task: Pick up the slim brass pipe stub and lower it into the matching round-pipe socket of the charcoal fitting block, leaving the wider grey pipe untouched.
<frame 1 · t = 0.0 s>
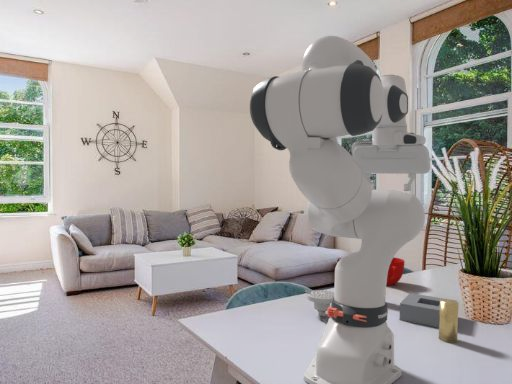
hand: (389, 190, 105), 39 cm above the table, tool pointing down, fingers open, 8 cm apart
brass pipe: (447, 339, 102), on the table
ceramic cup: (388, 285, 159), on the table
wide grey pipe: (370, 301, 135), on the table
showerhead: (320, 315, 119), on the table
fitting block: (428, 318, 118), on the table
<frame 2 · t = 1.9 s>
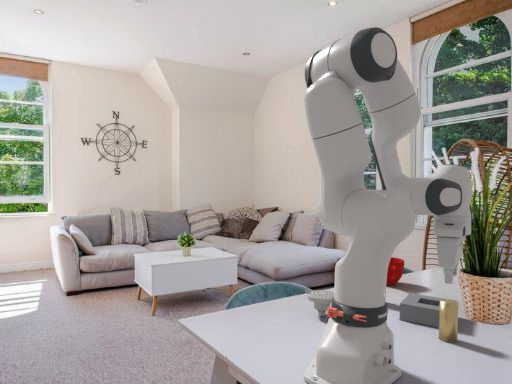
hand: (451, 279, 102), 16 cm above the table, tool pointing down, fingers open, 8 cm apart
nothing on the table moved.
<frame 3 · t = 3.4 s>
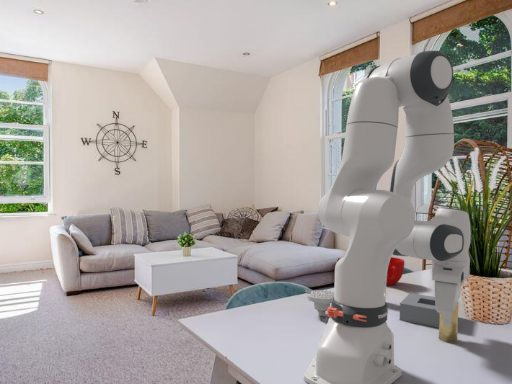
hand: (448, 322, 102), 5 cm above the table, tool pointing down, fingers closed on brass pipe, 4 cm apart
brass pipe: (447, 339, 102), on the table, touching gripper
everything else where it was.
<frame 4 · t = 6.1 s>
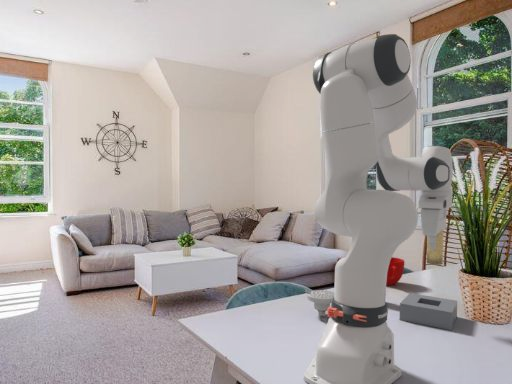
hand: (434, 247, 116), 22 cm above the table, tool pointing down, fingers closed on brass pipe, 4 cm apart
brass pipe: (434, 263, 116), point 17 cm above the table, touching gripper
everything else where it was.
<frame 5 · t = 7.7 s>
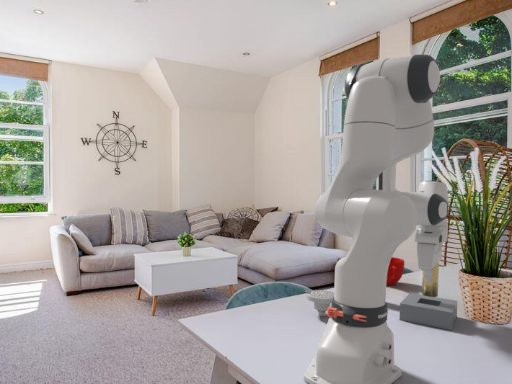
hand: (430, 279, 118), 12 cm above the table, tool pointing down, fingers closed on brass pipe, 4 cm apart
brass pipe: (429, 294, 118), point 7 cm above the table, touching gripper
everything else where it was.
when the fingers open (7 cm above the table, at t = 9.1 s): brass pipe drops 2 cm, resting in fitting block.
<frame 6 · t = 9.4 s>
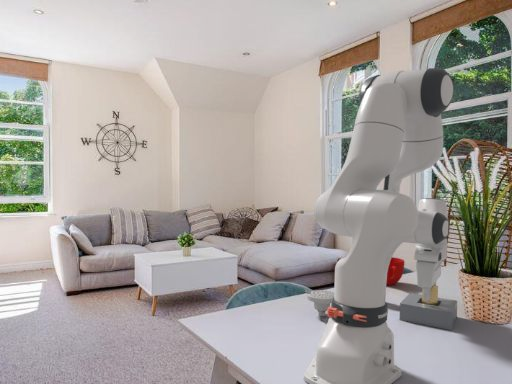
hand: (429, 296, 118), 7 cm above the table, tool pointing down, fingers open, 7 cm apart
brass pipe: (428, 318, 118), resting in fitting block
everything else where it was.
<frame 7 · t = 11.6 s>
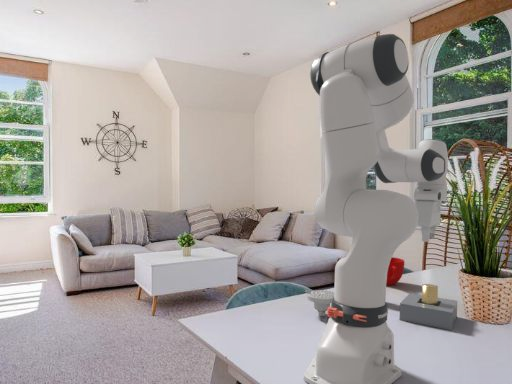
hand: (428, 240, 117), 24 cm above the table, tool pointing down, fingers open, 8 cm apart
nothing on the table moved.
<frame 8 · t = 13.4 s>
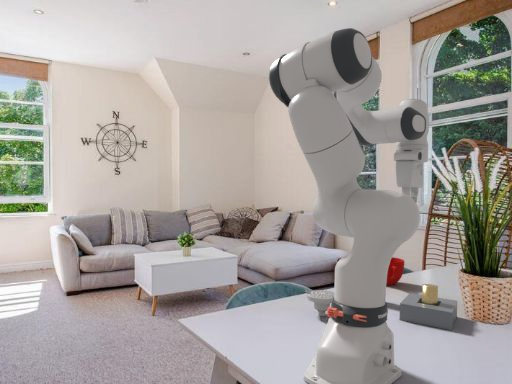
hand: (410, 203, 115), 35 cm above the table, tool pointing down, fingers open, 8 cm apart
nothing on the table moved.
at the end: brass pipe 0.1 cm off-centre on the fitting block, point 0.0 cm above the fitting block's base; brass pipe tilted 0°; the gripper is holding nothing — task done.
